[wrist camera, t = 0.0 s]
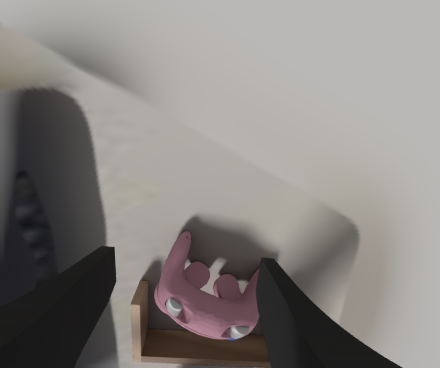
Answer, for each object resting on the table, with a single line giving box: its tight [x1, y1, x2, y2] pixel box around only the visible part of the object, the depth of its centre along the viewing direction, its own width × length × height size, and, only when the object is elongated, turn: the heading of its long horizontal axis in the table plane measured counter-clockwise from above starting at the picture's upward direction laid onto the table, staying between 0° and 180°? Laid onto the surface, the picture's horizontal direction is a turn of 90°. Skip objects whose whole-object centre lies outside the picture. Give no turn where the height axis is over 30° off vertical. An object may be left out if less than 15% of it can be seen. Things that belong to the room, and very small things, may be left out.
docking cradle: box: [131, 281, 271, 368], centre depth 25 cm, size 7×15×3 cm, turn 85°
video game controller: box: [154, 231, 260, 340], centre depth 22 cm, size 10×5×7 cm, turn 62°
